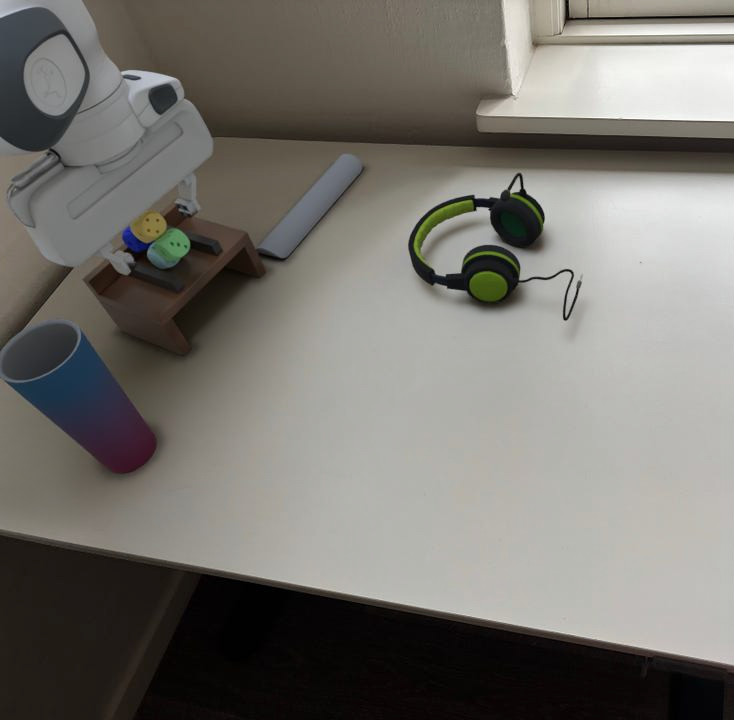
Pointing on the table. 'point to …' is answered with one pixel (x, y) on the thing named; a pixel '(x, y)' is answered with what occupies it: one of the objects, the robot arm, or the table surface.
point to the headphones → (487, 262)
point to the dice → (156, 239)
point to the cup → (77, 393)
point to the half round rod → (311, 207)
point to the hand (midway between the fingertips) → (161, 240)
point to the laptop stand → (171, 279)
